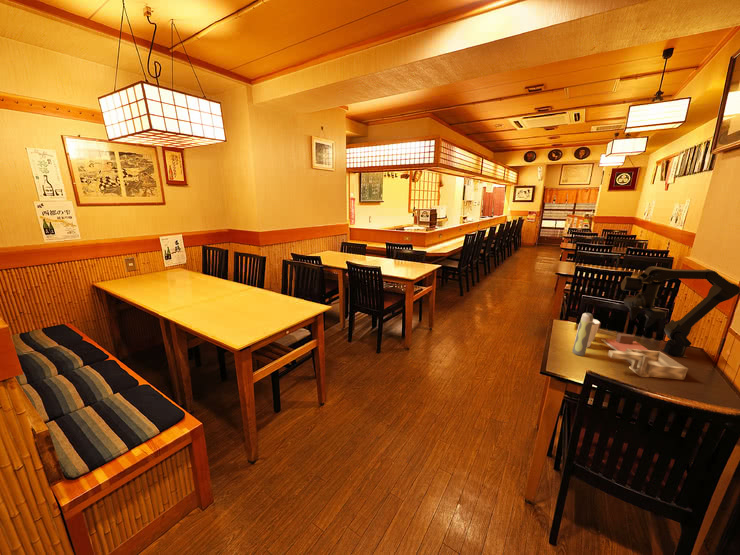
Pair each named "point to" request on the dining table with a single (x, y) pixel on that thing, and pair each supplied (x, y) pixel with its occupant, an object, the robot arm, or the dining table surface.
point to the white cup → (595, 327)
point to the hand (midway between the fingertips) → (638, 323)
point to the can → (590, 334)
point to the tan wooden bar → (625, 355)
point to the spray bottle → (583, 334)
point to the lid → (625, 343)
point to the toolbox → (656, 365)
